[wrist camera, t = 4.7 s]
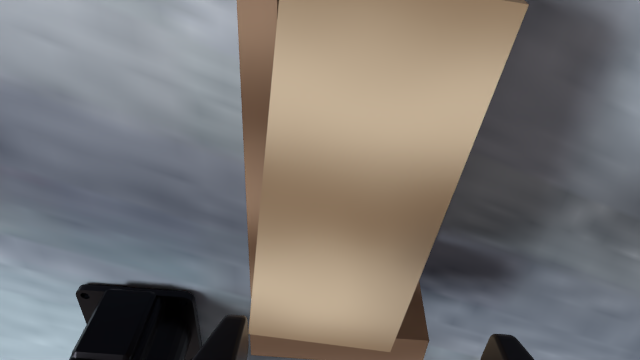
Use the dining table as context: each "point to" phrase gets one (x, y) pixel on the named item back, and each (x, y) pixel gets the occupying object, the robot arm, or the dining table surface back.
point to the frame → (256, 77)
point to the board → (366, 156)
